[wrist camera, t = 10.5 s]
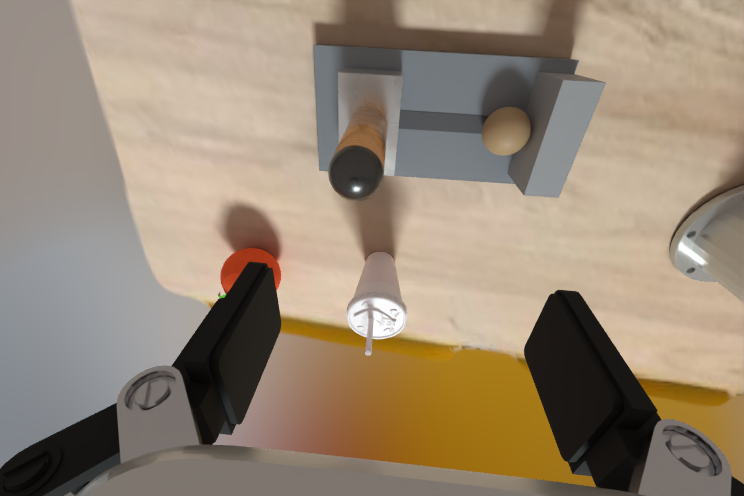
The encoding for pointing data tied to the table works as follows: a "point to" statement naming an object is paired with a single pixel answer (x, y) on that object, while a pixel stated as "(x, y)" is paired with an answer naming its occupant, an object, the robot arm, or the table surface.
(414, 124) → the frame
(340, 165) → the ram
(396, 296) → the smoothie
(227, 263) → the clementine
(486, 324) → the table surface
